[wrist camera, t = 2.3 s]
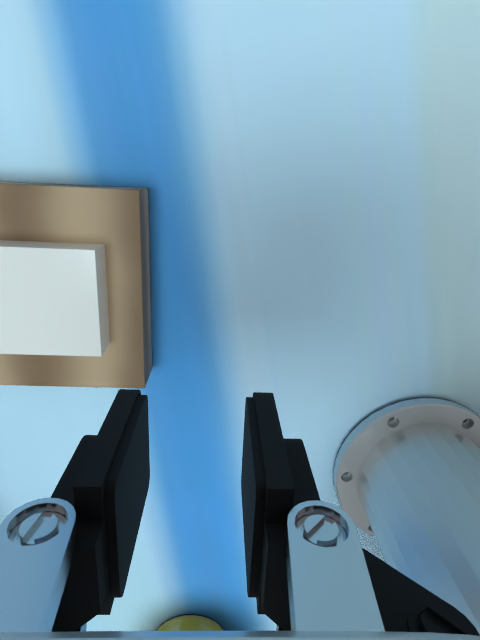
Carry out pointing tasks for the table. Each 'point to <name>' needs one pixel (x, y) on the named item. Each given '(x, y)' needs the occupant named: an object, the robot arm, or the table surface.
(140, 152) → the table surface
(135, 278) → the block
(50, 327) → the tile
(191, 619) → the plant pot
